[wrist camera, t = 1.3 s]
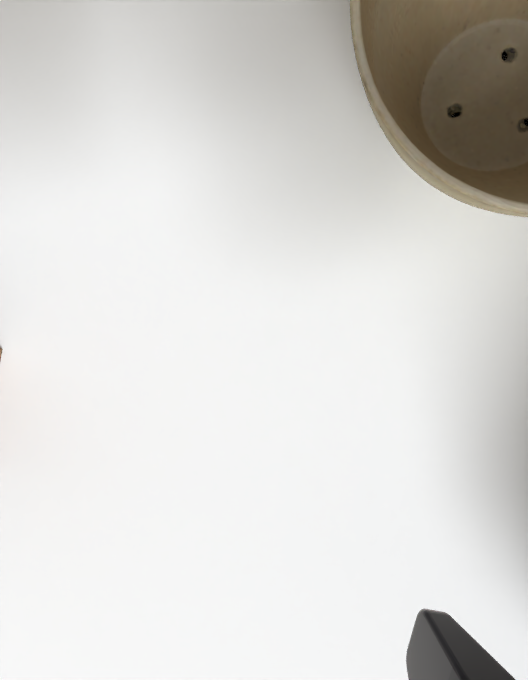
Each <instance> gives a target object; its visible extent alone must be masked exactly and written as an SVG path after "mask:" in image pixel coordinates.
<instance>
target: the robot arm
mask: <svg viewBox="0 0 528 680" xmlns="http://www.w3.org/2000/svg"><path fill="white" fill-rule="evenodd" d="M406 663H407V672H408V678H409V680H515V679H514V678H513V677H512V676H511V675H510V674H509V673H508V672H507V671H506V670H505V669H504V668H503V667H502V666H501V665H500V664H499V663H498V662H497V661H496V660H495V659H494V658H493V657H492V656H491V655H490V654H489V653H488V652H487V651H486V650H485V649H484V648H483V647H482V646H481V645H480V644H479V643H477V642H476V641H475V640H474V639H473V638H472V637H471V636H470V635H469V634H468V633H467V632H466V631H465V630H464V629H463V628H462V627H461V626H460V625H459V624H458V623H457V622H456V621H455V620H454V619H453V618H452V617H451V616H450V615H448V614H447V613H445V612H441V611H435V610H429V609H422V610H420V612H419V613H418V615H417V618H416V621H415V625H414V628H413V632H412V635H411V638H410V642H409V645H408V649H407V656H406Z"/></svg>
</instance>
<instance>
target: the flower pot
mask: <svg viewBox="0 0 528 680" xmlns="http://www.w3.org/2000/svg"><path fill="white" fill-rule="evenodd" d="M350 17H351V30H352V39H353V44H354V50H355V56H356V60H357V65H358V69H359V73H360V76H361V79H362V83H363V86H364V89H365V92H366V95H367V98H368V100H369V103H370V105H371V108H372V110H373V113H374V115H375V117H376V119H377V121H378V123H379V125H380V127H381V129H382V130H383V132H384V134H385V135H386V137H387V139H388V140H389V142H390V143H391V145H392V146H393V148H394V149H395V150H396V152H397V153H398V154H399V155H400V157H401V158H402V159H403V160H404V161H405V162H406V163H407V164H408V166H409V167H410V168H411V169H412V170H413V171H414V172H415V173H417V174H418V175H419V176H420V177H421V178H423V179H424V180H425V181H426V182H428V183H429V184H430V185H432V186H433V187H435V188H436V189H438V190H440V191H441V192H443V193H445V194H447V195H448V196H450V197H452V198H454V199H456V200H459V201H461V202H464V203H466V204H469V205H471V206H474V207H477V208H481V209H484V210H488V211H492V212H496V213H501V214H506V215H513V216H521V217H528V126H526V125H525V123H524V120H525V119H527V120H528V0H350ZM504 51H505V52H506V54H507V59H506V60H505V61H504V60H503V59H502V53H503V52H504ZM454 113H459V114H460V115H459V116H457V117H454V118H452V117H451V115H453V114H454Z"/></svg>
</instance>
